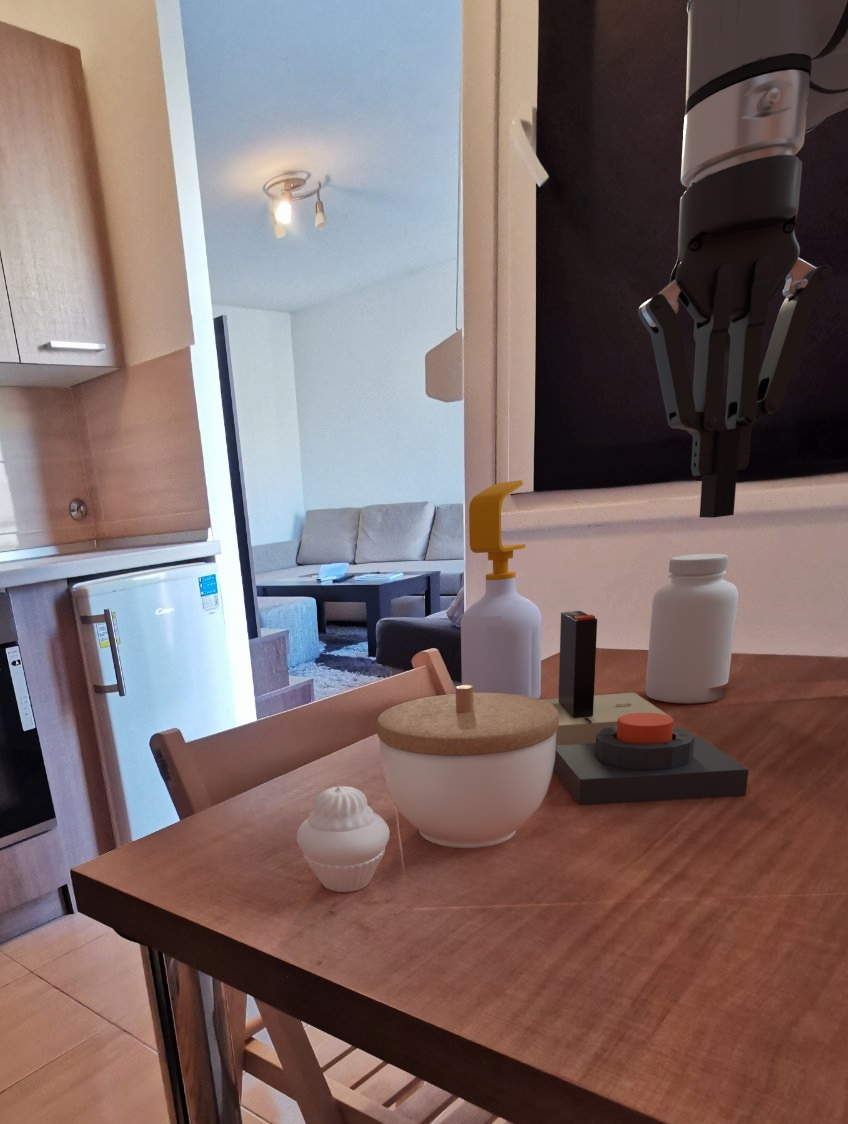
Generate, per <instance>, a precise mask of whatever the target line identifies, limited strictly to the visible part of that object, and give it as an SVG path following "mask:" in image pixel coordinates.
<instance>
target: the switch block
mask: <svg viewBox="0 0 848 1124" xmlns="http://www.w3.org/2000/svg"><path fill="white" fill-rule="evenodd" d="M616 738H617V726H613V727H609V728H605V729H602V730H601V731H600V732H599V733H598V734H597V735H596V743H589V744H574V745H559V746H556V753H555V762H554V768H553V773H555V775H556V777H558V779H559V780H560V781H561V783H562V784H563V786H564V787H565V788H566V790H567V791H568V792H569V794H570V795H571V797H573V799H574V800H575V802H576V803H577V805H579V806H585V805H587V806H588V805H603V804H604V805H606V804H623V803H640V802H641V803H642V802H657V801H677V800H696V799H713V798H730V797H732V798H733V797H746V795H747V787H748V778H749V771H750V770H749V768H748V767H746V766H745V765H744V764H742V763H740V762H739V761H737V760H736V759H734V758H733V757H731V756H730V755H728V754H727V753H725V752H724V751H722V750H720V749H719V748H717V747H716V746H715V745H713V744H712V743H710V742H709V741H707V740H706V739H704V738H703V737H701V736H700V735H695V734H693V733H692V732H691V731H689V730H687V729H685V728H682V727H677V726H673V734H672V741H668V742H664V743H653V744H638V743H627V742H623V741H620V740H617V739H616Z"/></svg>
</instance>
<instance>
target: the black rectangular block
mask: <svg viewBox="0 0 848 1124" xmlns="http://www.w3.org/2000/svg"><path fill="white" fill-rule="evenodd" d="M559 632H560V634H559V636H560V637H559V665H558V666H559V672H558V698H559V703H560V704H561V705H562V706H563V707H564V708H565V710H566V711H567V712H568V713H569V714H570V715H571V716H572V717H588V716H593V707H594V695H595V683H596V682H595V681H596V657H597V637H598V636H597V635H598V618H596V615H594V614H588V613H585V612H584V611H582V610H573V611H563V612H561V613H560V631H559Z"/></svg>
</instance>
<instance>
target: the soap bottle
mask: <svg viewBox="0 0 848 1124" xmlns="http://www.w3.org/2000/svg"><path fill="white" fill-rule="evenodd" d="M523 485H524V482H523V480H522V479H521V480H520V479H519V480H512V481H505V482H498V483H494V484H492V485H490V486H489V487H486V488H485V489H484V490H482V491H481V492H479V493H477V494H476V495H474V496H473V498H472V499H471V500H470V503H469V507H468V524H469V525H468V529H469V534H468V535H469V536H468V537H469V540H468V541H469V547H470V551H471V552H472V553H474V554H482V553H483V554H485V553H487V561H492V572H490V573H486V574H485V593H484V595H483V596H482V597H481V598H480V599H478V600H476V601H475V602H474V603H472V604H471V605H470V606H468V608H467V609H466V610H465V611H464V612H463V614H462V617H461V621H460V652H461V653H460V654H461V655H460V656H461V658H460V660H461V685H472V686H473V693H504V694H515V695H522V696H528V697H532V698H536V699H540V697H541V690H542V689H541V687H542V686H541V684H542V640H543V639H542V636H543V635H542V634H543V633H542V632H543V630H542V629H543V623H542V622H543V617H542V614H541V610H540V609H539V606H537V605H536V604H535V603H534V602H533V601H532V600H531V599H528V598H526V597H524V596H522V595H521V594H520V593H518V592H517V587H516V585H517V584H516V580H517V579H516V571H509V560H511V559H513V558H514V551H517V550H521V549H522V550H523V549H526V544H525V543H521V544H519V543H518V544H503V542H502V507H503V505H502V504H503V502H504V500H505V498H506V497H507V496H508V495H510V494H511V493H513V492H514V491H516V490H517V489H519V488H520V487H522V486H523Z"/></svg>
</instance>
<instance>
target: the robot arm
mask: <svg viewBox="0 0 848 1124" xmlns="http://www.w3.org/2000/svg"><path fill="white" fill-rule="evenodd" d="M686 12H687V17H688V18H687V49H686V51H687V53H686V85H685V87H686V88H685V108H684V109H685V110H684V121H683V122H684V123H683V135H682V137H683V139H682V154H681V170H680V183H681V185H682V186H683V187H685V188H687V189H686V190H685V191H684V192H683V194H682V195H681V197H680V199H679V215H678V218H679V219H678V220H679V221H678V234H677V235H678V236H677V237H678V238H677V253H678V254H677V260H676V262H675V265H674V267H673V269H672V271H671V274H670V277H669V283H668V284H667V285H666V286H665V287H664V288H662V289H661V290H660V291H659V292H658V293H657V294H655V295H653V296H651V298H650V297H649V298H648V299H647V300H646V301H645V302H643V303H641V305H640V306H639V307H638V309H637V315H638V318H639V319H640V320H641V323H642V324H643V325H644V327H645V329H646V330H647V332H648V333H649V334H650V337H651V343H652V349H653V354H654V357H655V358H654V359H655V363H656V368H657V369H656V370H657V374H658V379H659V384H660V389H661V394H662V399H663V405H664V409H665V414H666V419H667V424H668V427H669V428H671V429H678V430H682V431H687V432H688V434H689V435H691V436H692V447H691V448H692V449H691V465H690V471H691V473H692V476H693V477H698V476H699V477H700V476H701V486H700V488H701V489H700V503H699V518H706V519H707V518H710V519H711V518H714V519H715V518H721V517H729V516H734V514H735V501H736V489H737V476H738V471H741V470H746V469H747V467H748V465H749V464H750V454H751V443H752V431H753V427H754V425H755V424H757V423H758V422H759V421H760V419H762V418H764V417H766V416H767V415H770V414H773V413H775V412H778V411H779V409H780V408H781V407H782V405H783V401H784V398H785V394H786V392H787V388H788V387H789V386H788V385H789V382H790V379H791V376H792V373H793V369H794V367H795V364H796V361H797V357H798V354H799V351H800V348H801V344H802V341H803V338H804V335H805V332H806V330H807V329H806V328H807V326H808V322H809V319H810V316H811V313H812V311H813V306H814V304H815V302H816V300H817V298H819V296H820V293H822V291H823V290H824V288H825V287H826V285H827V283H828V282H829V281H830V279H831V277H832V274H833V268H832V267H831V266H830V265H829V264H826V263H825V264H821V265H820V266H817V267H816V266H814V265H813V264H811V263H809V262H807V261H806V260H804V259H802V258H801V257H800V250H801V249H800V248H801V247H800V245H799V242H798V240H797V237H796V233H795V228H796V227H795V226H796V222H797V218H798V214H799V206H800V195H801V194H800V193H801V184H802V183H801V182H802V172H803V161H802V160H800V158H799V157H798V156H797V154H798V153H799V152H800V150H801V149H802V148H803V146H804V144H805V135H806V134H807V133H810V132H811V131H813V130H814V129H815V128H817V127H818V126H819V125H820V124H821V123H822V122H824V120H826V119H827V118H828V117H830V116H832V115H834V114H836V113H839V112H841V111H844V110H847V109H848V0H687V5H686ZM784 281H785V285H784V288H783V290H782V296H783V297H785V299H784V300H783V302H782V304H781V306H780V309H779V311H778V314H777V317H776V320H775V323H774V326H773V327H774V328H773V330H772V334H771V337H770V340H769V343H768V346H767V350H766V353H765V356H764V360H763V363H762V366H761V358H762V347H763V346H762V345H763V334H764V326H765V325H766V322H767V320H768V312H769V303H770V302H771V300H772V299H773V297H774V296H775V295H776V293H777V291H778V290H779V288H780V287H781V286H782V284H783V283H784ZM679 301H680V302H681V303H682V305H683V307H684V308H685V309H686V310H687V312H688V313H689V315H690V316H691V317H692V319H693V320H694V322H693V323H694V324H693V340H694V341H695V350H694V351H695V352H694V365H693V366H694V369H693V382H692V383H693V384H692V383H691V377H690V372H689V365H688V361H687V356H686V350H685V345H684V339H683V334H682V328H681V323H680V320H679V318H678V316H677V315H678V312H679V311H680V304H679ZM727 334H729V337H730V341H729V357H728V371H727V372H728V373H727V385H726V386H727V387H726V401H725V418H724V424H725V427H726V429H722V430H721V429H720V430H718V428H719V427H720V425H721V419H722V418H721V417H722V402H723V391H724V377H725V374H724V373H725V362H726V346H727ZM692 385H693V386H692Z"/></svg>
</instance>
